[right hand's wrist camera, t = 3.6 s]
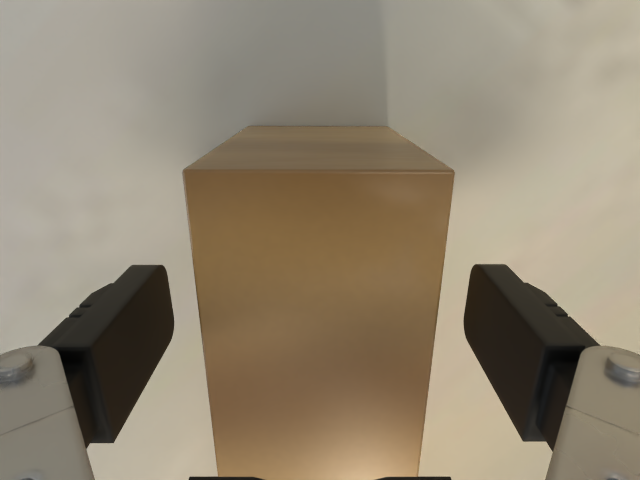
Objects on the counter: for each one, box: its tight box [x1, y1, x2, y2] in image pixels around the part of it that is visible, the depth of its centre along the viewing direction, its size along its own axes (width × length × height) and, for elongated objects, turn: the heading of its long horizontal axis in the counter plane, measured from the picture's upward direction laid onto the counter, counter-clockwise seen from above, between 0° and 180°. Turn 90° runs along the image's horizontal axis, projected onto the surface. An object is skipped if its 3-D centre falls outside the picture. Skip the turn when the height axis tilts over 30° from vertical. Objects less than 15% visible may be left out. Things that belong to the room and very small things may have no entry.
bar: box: [183, 126, 455, 480], centre depth 17 cm, size 26×6×9 cm, turn 0°
